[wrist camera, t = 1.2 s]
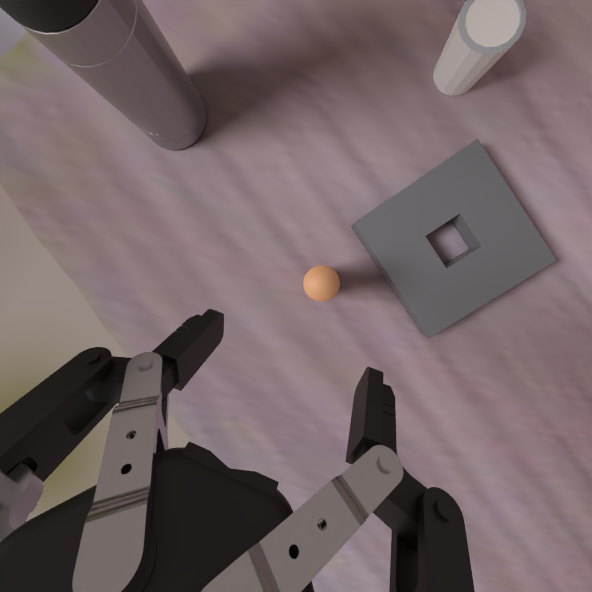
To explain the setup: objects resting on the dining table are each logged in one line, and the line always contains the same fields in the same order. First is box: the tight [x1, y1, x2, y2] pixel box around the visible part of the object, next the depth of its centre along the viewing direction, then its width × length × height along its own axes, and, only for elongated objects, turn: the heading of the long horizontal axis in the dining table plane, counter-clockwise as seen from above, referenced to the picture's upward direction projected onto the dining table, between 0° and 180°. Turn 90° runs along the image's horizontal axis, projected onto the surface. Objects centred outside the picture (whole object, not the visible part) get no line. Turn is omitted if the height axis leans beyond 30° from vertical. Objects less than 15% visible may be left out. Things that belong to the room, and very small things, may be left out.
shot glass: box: [433, 0, 527, 96], centre depth 30 cm, size 7×7×7 cm
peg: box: [304, 265, 340, 301], centre depth 31 cm, size 4×4×11 cm
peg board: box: [352, 139, 557, 338], centre depth 33 cm, size 18×18×2 cm
